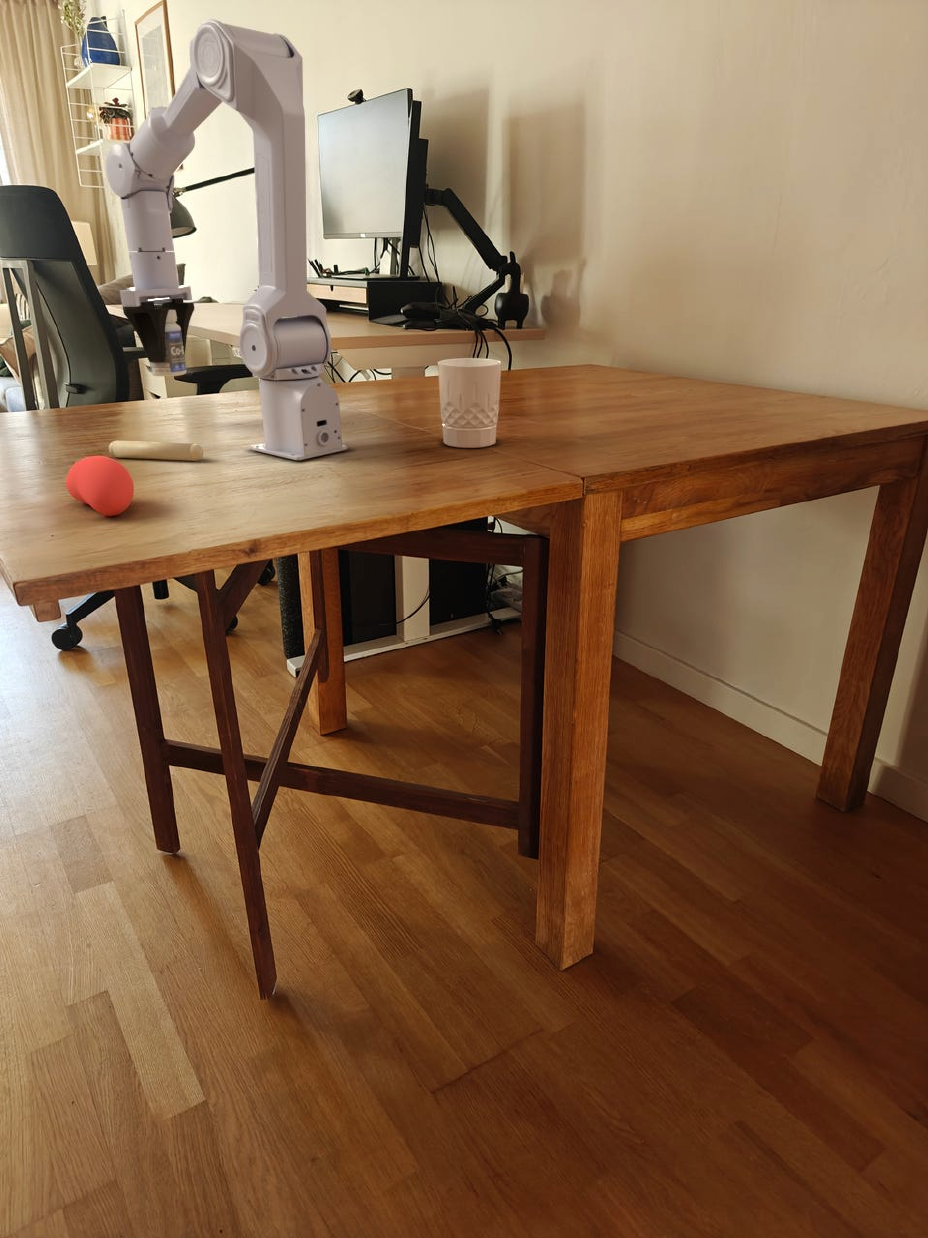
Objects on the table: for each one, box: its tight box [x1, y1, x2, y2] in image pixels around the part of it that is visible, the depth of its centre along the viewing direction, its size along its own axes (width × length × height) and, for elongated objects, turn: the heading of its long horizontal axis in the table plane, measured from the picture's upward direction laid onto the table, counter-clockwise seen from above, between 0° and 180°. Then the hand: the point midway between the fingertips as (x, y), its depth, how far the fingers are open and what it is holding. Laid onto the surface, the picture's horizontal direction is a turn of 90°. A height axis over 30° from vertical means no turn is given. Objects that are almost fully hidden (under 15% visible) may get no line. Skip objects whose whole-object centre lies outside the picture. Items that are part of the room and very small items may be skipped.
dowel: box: [108, 440, 204, 462], centre depth 99 cm, size 12×2×2 cm, turn 79°
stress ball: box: [65, 455, 135, 517], centre depth 80 cm, size 5×9×6 cm
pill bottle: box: [149, 310, 187, 377], centre depth 114 cm, size 5×5×8 cm
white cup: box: [437, 357, 502, 449], centre depth 105 cm, size 8×8×10 cm
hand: (167, 359), depth 115 cm, fingers closed on pill bottle, 5 cm apart
